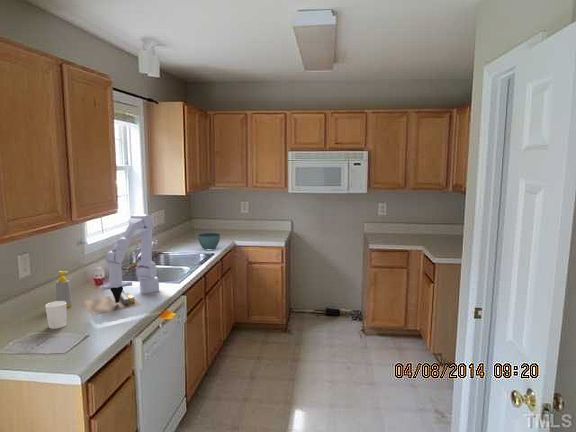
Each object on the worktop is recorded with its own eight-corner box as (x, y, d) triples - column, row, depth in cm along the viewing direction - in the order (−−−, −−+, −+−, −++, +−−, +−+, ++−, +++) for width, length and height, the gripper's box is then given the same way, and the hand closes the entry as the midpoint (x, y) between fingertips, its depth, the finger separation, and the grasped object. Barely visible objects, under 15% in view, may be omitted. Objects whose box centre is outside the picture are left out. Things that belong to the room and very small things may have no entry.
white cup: (71, 324, 176) (69, 303, 175) (52, 331, 169) (50, 308, 168) (62, 321, 180) (60, 299, 179) (43, 326, 174) (41, 304, 173)
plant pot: (213, 246, 345) (213, 232, 343) (224, 249, 331) (224, 234, 329) (194, 249, 333) (193, 234, 332) (204, 252, 319) (204, 237, 318)
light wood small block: (132, 300, 203) (132, 294, 203) (134, 302, 200) (134, 297, 199) (127, 301, 201) (127, 295, 201) (129, 303, 198) (129, 298, 198)
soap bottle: (65, 309, 195) (62, 273, 193) (53, 308, 196) (50, 272, 194) (75, 304, 202) (73, 269, 200) (63, 303, 203) (60, 269, 201)
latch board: (128, 295, 215) (128, 292, 215) (141, 308, 196) (141, 304, 196) (83, 304, 202) (82, 300, 202) (92, 318, 183) (92, 315, 183)
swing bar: (117, 296, 208) (116, 290, 207) (123, 295, 209) (123, 289, 209) (123, 305, 195) (123, 299, 194) (130, 303, 196) (130, 297, 196)
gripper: (100, 279, 187) (102, 307, 189) (133, 274, 196) (134, 301, 197) (98, 276, 193) (100, 303, 195) (129, 271, 201) (131, 297, 203)
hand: (117, 302), depth 197 cm, fingers closed
